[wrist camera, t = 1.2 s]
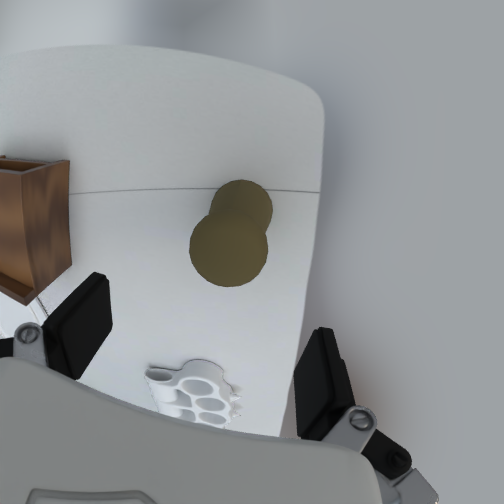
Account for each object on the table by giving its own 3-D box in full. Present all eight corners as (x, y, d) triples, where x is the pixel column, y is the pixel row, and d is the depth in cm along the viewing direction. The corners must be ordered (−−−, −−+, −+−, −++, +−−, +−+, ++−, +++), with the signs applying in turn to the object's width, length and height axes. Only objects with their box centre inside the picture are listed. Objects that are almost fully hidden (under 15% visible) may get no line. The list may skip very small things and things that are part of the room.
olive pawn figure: (261, 246, 28) (256, 312, 18) (204, 228, 27) (169, 284, 17) (281, 191, 25) (290, 231, 15) (220, 171, 25) (188, 198, 15)
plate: (-17, 218, 28) (-20, 220, 28) (77, 336, 36) (75, 338, 36) (-27, 294, 37) (-28, 295, 36) (44, 376, 45) (43, 378, 44)
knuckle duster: (144, 350, 36) (243, 363, 35) (165, 412, 43) (241, 423, 43) (136, 366, 33) (240, 381, 32) (161, 426, 40) (240, 438, 40)
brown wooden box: (1, 155, 24) (-49, 171, 15) (69, 160, 25) (6, 180, 15) (7, 240, 30) (-34, 269, 21) (72, 265, 31) (26, 306, 21)
